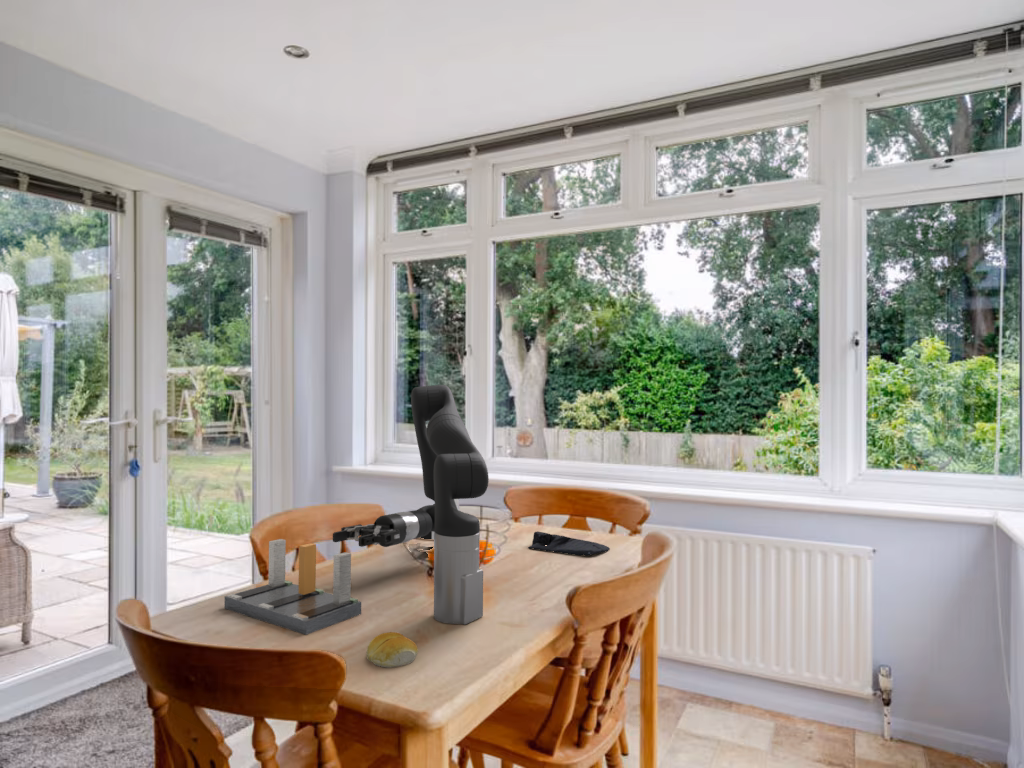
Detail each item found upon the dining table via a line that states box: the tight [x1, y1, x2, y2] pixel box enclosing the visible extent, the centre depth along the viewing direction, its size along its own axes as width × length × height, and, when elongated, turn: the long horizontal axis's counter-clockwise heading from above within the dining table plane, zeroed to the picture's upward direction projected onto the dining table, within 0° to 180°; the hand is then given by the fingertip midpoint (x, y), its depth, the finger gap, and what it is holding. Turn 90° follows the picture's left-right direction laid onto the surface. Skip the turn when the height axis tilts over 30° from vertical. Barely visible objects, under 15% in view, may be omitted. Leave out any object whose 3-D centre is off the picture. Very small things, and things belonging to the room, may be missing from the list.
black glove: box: [527, 531, 611, 557], centre depth 191 cm, size 15×22×5 cm
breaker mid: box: [298, 542, 317, 595], centre depth 138 cm, size 2×3×10 cm, turn 146°
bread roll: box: [366, 631, 419, 668], centre depth 112 cm, size 8×9×4 cm
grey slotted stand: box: [223, 538, 362, 636], centre depth 135 cm, size 26×14×12 cm, turn 56°
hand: (346, 539), depth 147 cm, fingers open, 8 cm apart
